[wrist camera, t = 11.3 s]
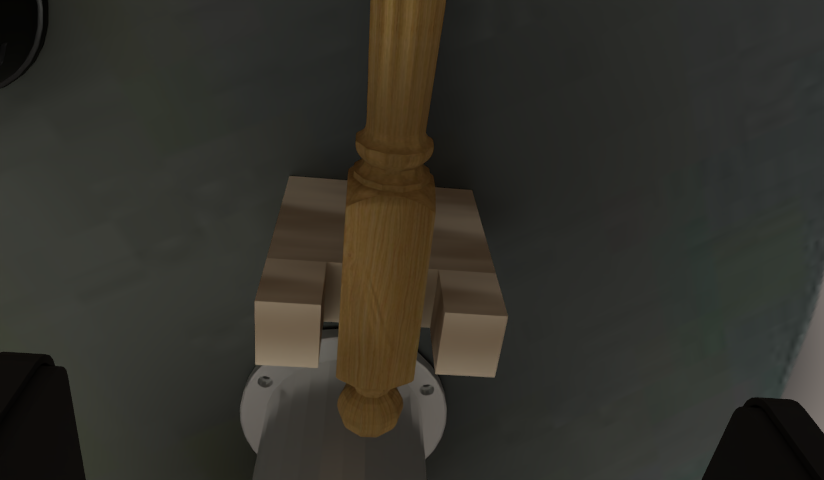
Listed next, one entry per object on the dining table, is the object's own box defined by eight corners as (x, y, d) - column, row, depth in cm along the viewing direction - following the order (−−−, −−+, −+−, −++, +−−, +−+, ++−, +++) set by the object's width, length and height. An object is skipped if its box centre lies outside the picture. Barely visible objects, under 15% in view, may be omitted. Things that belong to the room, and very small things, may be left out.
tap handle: (541, -586, 14) (404, 454, 28) (514, -513, 16) (401, 403, 31) (392, -613, 13) (331, 451, 28) (389, -534, 16) (335, 400, 31)
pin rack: (463, 240, 36) (494, 377, 26) (288, 227, 35) (255, 364, 26) (542, -230, 26) (639, -282, 16) (297, -264, 25) (247, -340, 15)
